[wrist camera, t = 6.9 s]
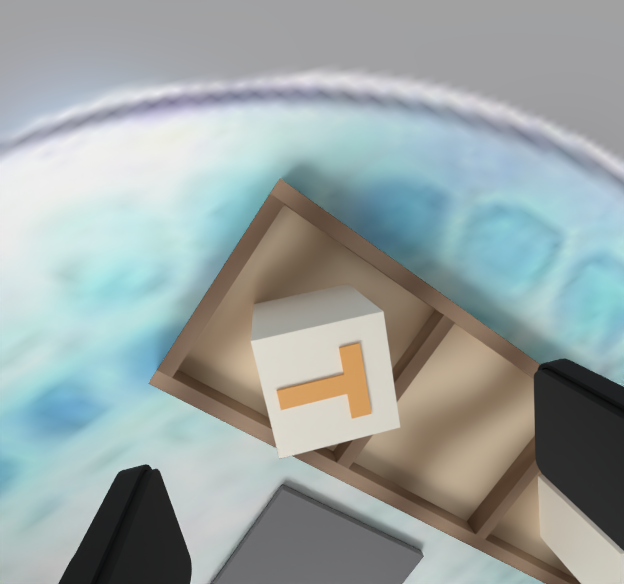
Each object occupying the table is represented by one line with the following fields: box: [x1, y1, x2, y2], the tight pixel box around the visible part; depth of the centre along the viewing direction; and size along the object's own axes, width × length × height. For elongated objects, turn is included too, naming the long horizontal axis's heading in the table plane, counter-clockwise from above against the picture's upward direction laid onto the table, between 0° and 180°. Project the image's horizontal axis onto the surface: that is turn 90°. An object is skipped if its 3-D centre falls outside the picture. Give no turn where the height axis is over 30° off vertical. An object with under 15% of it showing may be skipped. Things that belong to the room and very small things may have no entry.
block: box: [538, 475, 624, 584], centre depth 21 cm, size 5×5×6 cm
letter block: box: [251, 284, 400, 459], centre depth 16 cm, size 5×5×6 cm
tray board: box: [148, 179, 581, 584], centre depth 21 cm, size 33×12×1 cm, turn 55°
